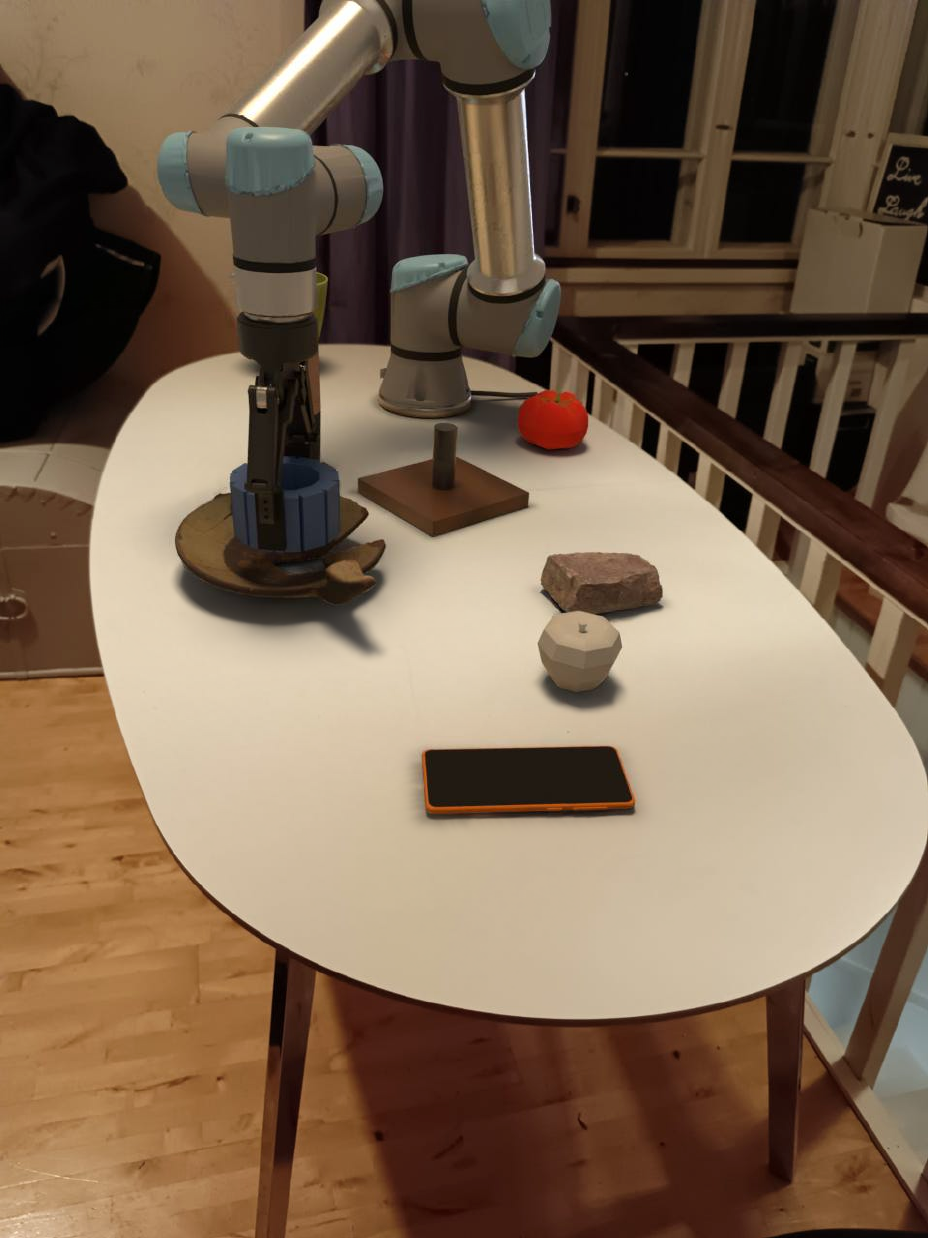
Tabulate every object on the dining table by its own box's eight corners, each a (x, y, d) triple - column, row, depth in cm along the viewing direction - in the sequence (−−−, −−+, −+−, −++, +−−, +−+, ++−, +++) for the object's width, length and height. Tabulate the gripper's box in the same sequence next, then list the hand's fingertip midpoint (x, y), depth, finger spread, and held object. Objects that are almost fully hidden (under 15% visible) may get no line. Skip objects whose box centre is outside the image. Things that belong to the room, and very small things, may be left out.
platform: (451, 467, 135) (454, 398, 130) (528, 506, 125) (535, 433, 120) (357, 492, 126) (357, 419, 121) (432, 536, 116) (435, 459, 111)
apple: (570, 649, 96) (577, 592, 93) (633, 683, 91) (643, 625, 88) (516, 678, 91) (522, 619, 88) (580, 716, 86) (588, 655, 83)
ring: (304, 499, 108) (302, 448, 105) (359, 535, 101) (359, 482, 98) (215, 522, 102) (210, 469, 99) (268, 562, 95) (264, 507, 92)
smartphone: (421, 755, 80) (421, 747, 80) (614, 752, 82) (616, 744, 82) (426, 817, 74) (426, 809, 73) (636, 812, 76) (638, 804, 75)
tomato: (550, 462, 139) (555, 412, 135) (501, 438, 146) (505, 391, 142) (601, 448, 145) (608, 400, 141) (552, 426, 152) (557, 380, 148)
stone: (625, 570, 111) (631, 533, 109) (667, 609, 104) (675, 571, 102) (534, 583, 107) (538, 546, 104) (571, 625, 100) (577, 586, 97)
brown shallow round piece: (361, 517, 120) (361, 459, 116) (416, 643, 95) (418, 576, 91) (176, 530, 114) (169, 470, 110) (184, 668, 89) (175, 597, 85)
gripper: (270, 283, 100) (280, 477, 111) (196, 342, 80) (217, 572, 91) (341, 288, 100) (343, 482, 111) (285, 349, 79) (295, 579, 91)
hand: (287, 523), depth 101 cm, fingers closed on ring, 11 cm apart
